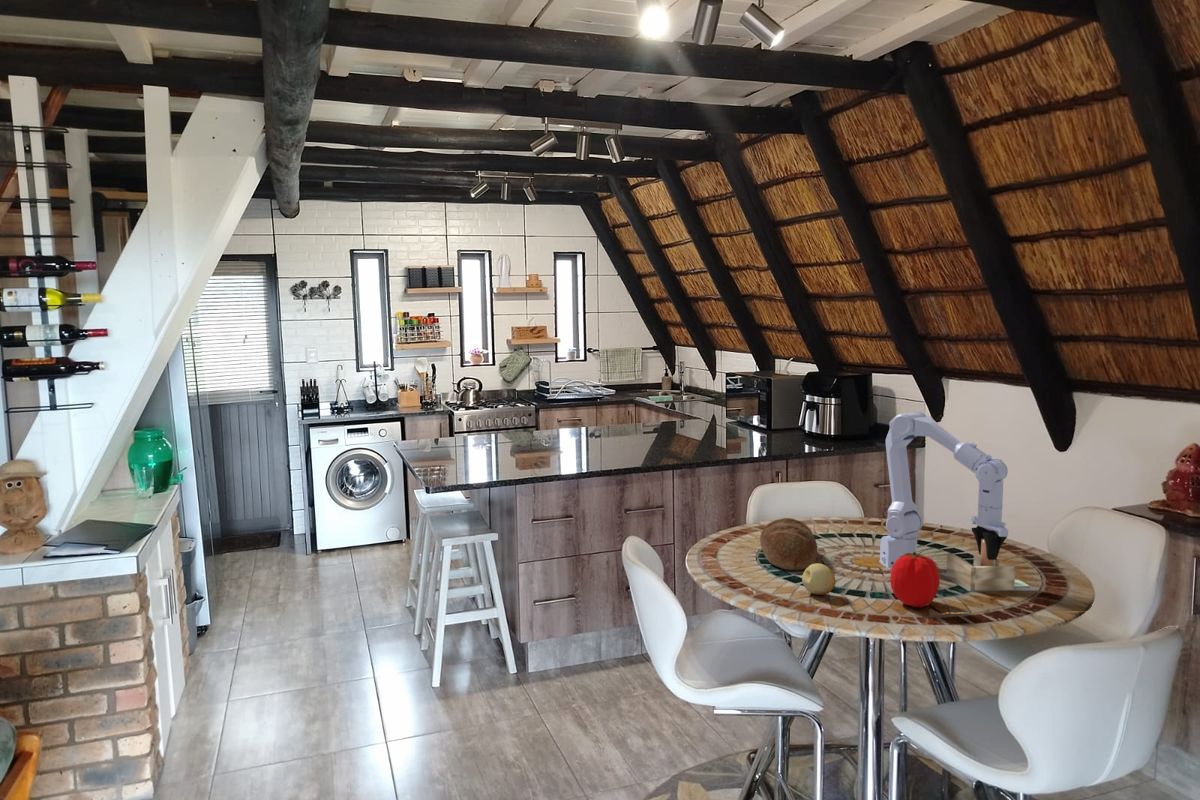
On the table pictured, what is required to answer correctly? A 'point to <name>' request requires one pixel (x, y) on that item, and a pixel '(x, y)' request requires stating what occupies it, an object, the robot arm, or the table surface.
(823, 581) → the fruit
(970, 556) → the table surface
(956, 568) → the tan piece
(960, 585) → the board
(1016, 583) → the pad
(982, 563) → the peg
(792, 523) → the bread
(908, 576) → the tomato
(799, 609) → the table surface
